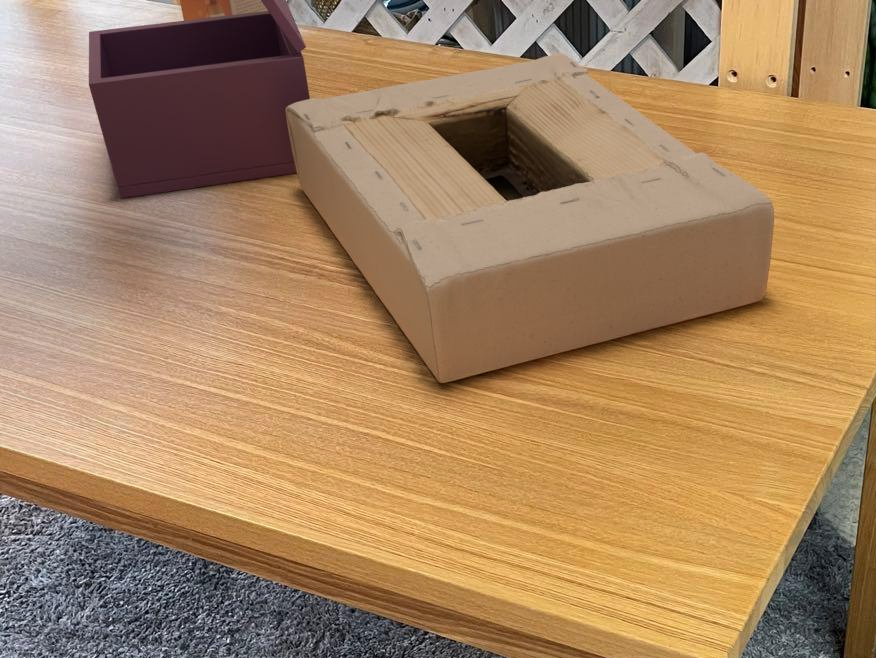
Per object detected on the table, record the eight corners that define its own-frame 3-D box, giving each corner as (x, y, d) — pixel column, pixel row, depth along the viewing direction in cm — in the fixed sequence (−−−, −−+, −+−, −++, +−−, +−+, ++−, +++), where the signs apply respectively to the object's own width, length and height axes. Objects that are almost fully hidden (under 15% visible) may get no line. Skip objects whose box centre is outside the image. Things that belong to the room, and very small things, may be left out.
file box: (120, 198, 92) (88, 83, 86) (117, 138, 101) (88, 31, 95) (321, 169, 95) (303, 56, 89) (300, 114, 104) (283, 8, 98)
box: (292, 193, 92) (437, 392, 69) (276, 93, 87) (426, 272, 64) (560, 141, 99) (771, 305, 76) (559, 46, 94) (784, 191, 72)
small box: (192, 66, 115) (166, -51, 108) (237, 51, 118) (215, -64, 111) (244, 83, 111) (221, -37, 104) (289, 66, 114) (270, -51, 107)
